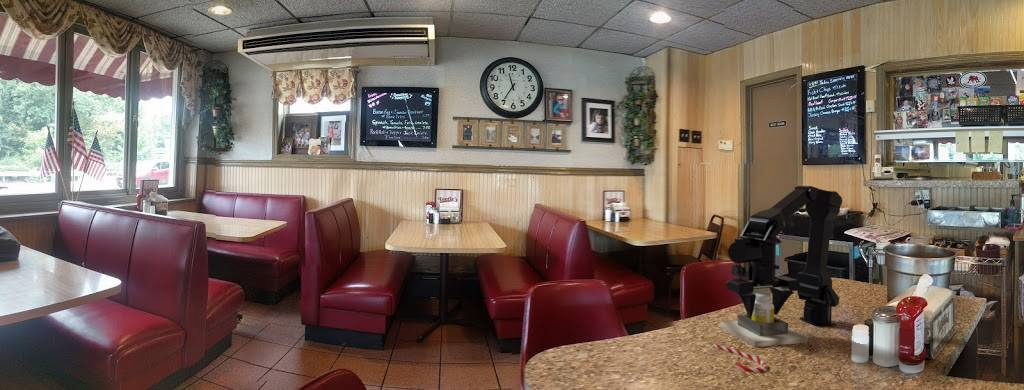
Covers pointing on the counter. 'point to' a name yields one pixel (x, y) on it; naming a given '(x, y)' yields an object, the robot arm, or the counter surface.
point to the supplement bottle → (763, 309)
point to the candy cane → (749, 369)
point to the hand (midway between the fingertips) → (762, 315)
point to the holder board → (763, 332)
